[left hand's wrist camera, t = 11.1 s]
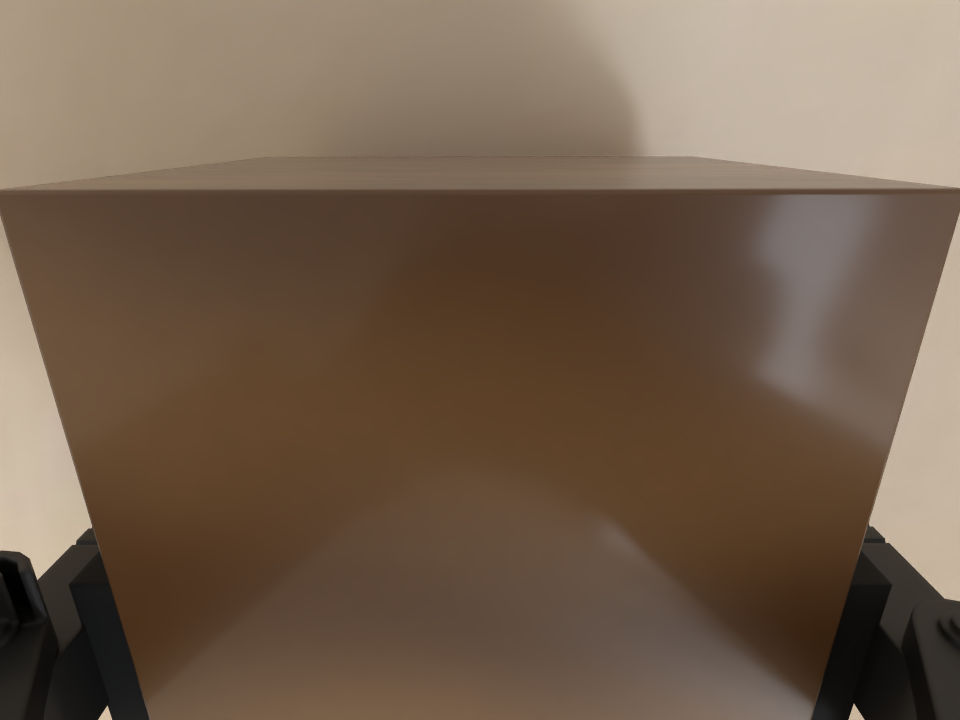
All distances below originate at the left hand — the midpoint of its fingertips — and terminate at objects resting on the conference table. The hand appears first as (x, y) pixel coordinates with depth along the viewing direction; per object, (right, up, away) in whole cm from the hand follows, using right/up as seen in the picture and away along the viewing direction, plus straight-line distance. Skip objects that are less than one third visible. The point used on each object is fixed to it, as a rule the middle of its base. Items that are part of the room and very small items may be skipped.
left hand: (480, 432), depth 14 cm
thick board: (0, -31, +13) cm, 34 cm away
